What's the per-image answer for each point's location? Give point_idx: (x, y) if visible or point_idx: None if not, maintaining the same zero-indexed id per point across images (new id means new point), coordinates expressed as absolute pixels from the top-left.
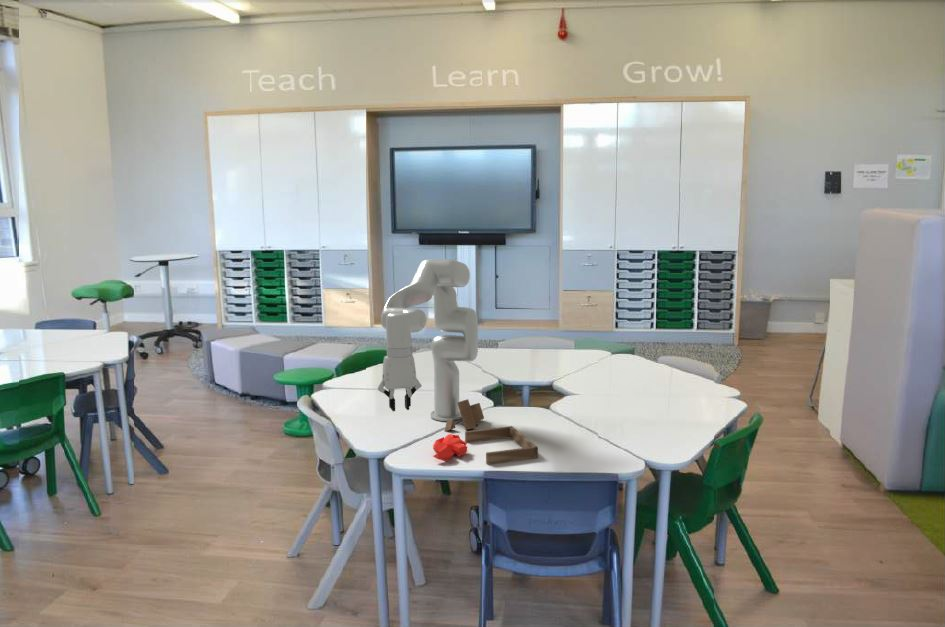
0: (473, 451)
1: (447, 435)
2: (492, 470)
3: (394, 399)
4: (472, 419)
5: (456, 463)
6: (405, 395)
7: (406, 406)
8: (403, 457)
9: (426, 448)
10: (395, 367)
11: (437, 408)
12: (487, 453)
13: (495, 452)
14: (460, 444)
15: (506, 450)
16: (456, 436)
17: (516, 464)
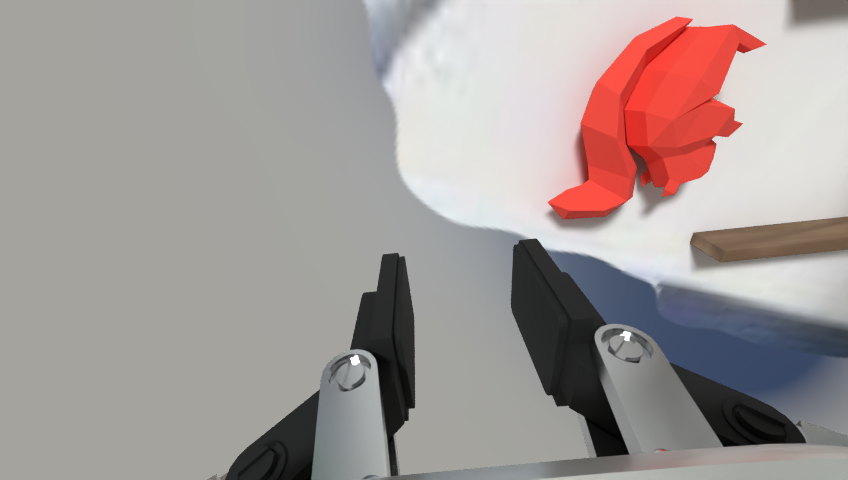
0: None
1: (713, 35)
2: (673, 282)
3: (408, 416)
4: None
5: (608, 215)
6: (571, 332)
7: (518, 312)
8: (448, 116)
9: (572, 18)
10: None
11: None
12: (722, 259)
13: (752, 256)
14: (697, 154)
15: (799, 247)
16: (748, 49)
17: None
